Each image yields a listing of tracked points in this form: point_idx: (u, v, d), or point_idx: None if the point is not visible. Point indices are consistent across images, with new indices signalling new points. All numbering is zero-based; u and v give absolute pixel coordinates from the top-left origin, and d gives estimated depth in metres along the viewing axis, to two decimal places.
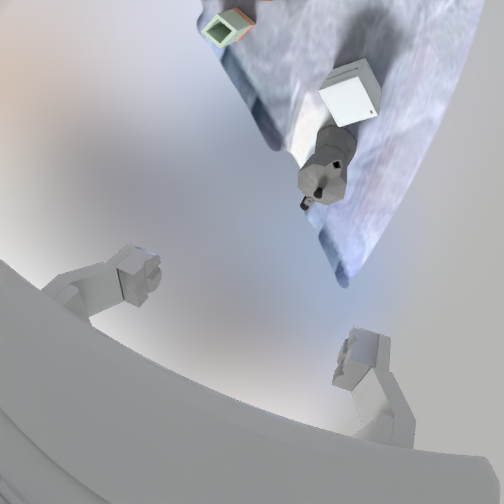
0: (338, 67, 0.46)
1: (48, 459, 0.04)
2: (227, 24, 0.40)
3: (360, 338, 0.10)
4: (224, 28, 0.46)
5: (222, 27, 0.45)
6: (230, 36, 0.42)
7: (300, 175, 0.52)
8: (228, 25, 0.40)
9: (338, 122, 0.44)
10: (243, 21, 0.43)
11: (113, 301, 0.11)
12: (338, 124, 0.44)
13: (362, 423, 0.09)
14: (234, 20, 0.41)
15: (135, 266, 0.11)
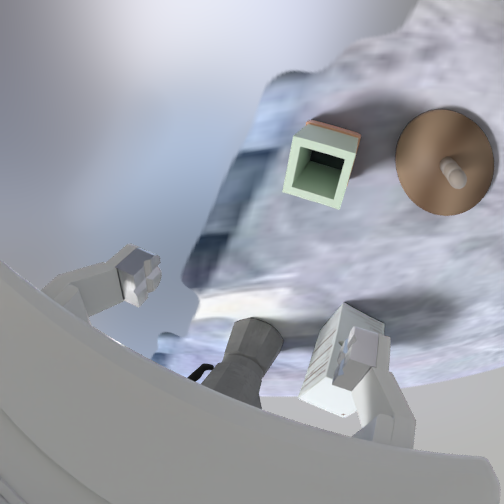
0: (352, 309, 0.39)
1: (48, 459, 0.04)
2: (342, 185, 0.23)
3: (360, 338, 0.10)
4: None
5: None
6: (319, 200, 0.24)
7: None
8: (341, 188, 0.23)
9: (303, 397, 0.34)
10: None
11: (113, 301, 0.11)
12: (300, 398, 0.34)
13: (362, 423, 0.09)
14: None
15: (135, 266, 0.11)
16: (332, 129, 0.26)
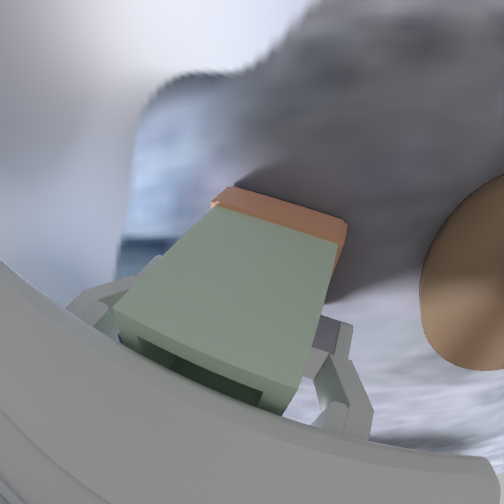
0: None
1: (48, 459, 0.04)
2: None
3: (320, 325, 0.10)
4: None
5: None
6: None
7: None
8: None
9: None
10: None
11: None
12: None
13: None
14: None
15: None
16: (272, 221, 0.11)
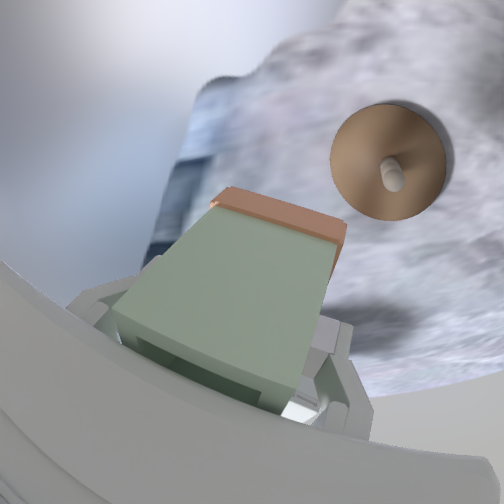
0: None
1: (48, 459, 0.04)
2: None
3: (320, 325, 0.10)
4: None
5: None
6: None
7: None
8: None
9: None
10: None
11: None
12: None
13: None
14: None
15: None
16: (271, 221, 0.11)
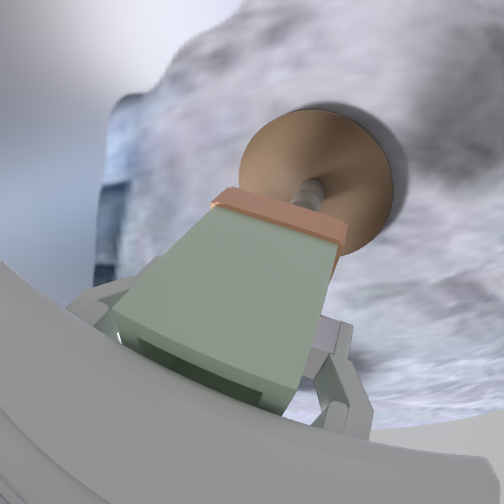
0: None
1: (48, 459, 0.04)
2: None
3: (320, 325, 0.10)
4: None
5: None
6: None
7: None
8: None
9: None
10: None
11: None
12: None
13: None
14: None
15: None
16: (272, 221, 0.11)
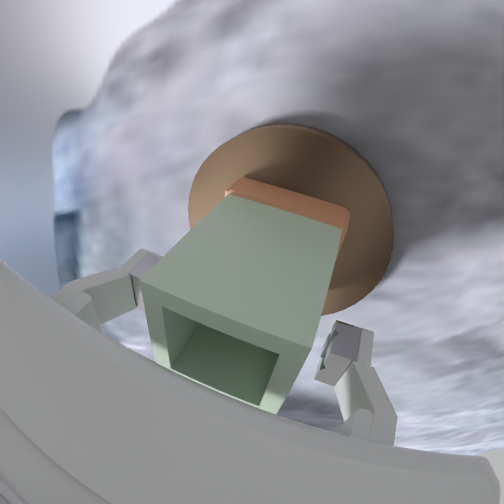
0: None
1: (48, 459, 0.04)
2: (277, 393, 0.09)
3: (342, 332, 0.10)
4: None
5: None
6: None
7: None
8: (275, 396, 0.09)
9: None
10: None
11: (125, 308, 0.11)
12: None
13: (344, 418, 0.09)
14: None
15: None
16: (282, 208, 0.12)
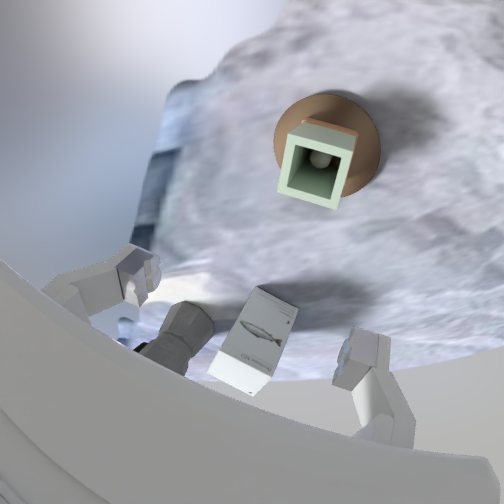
0: (263, 293, 0.43)
1: (48, 459, 0.04)
2: (339, 184, 0.22)
3: (360, 338, 0.10)
4: None
5: None
6: (315, 201, 0.24)
7: None
8: (338, 187, 0.22)
9: (210, 372, 0.38)
10: None
11: (113, 301, 0.11)
12: (209, 372, 0.38)
13: (362, 423, 0.09)
14: None
15: (135, 266, 0.11)
16: (329, 127, 0.26)
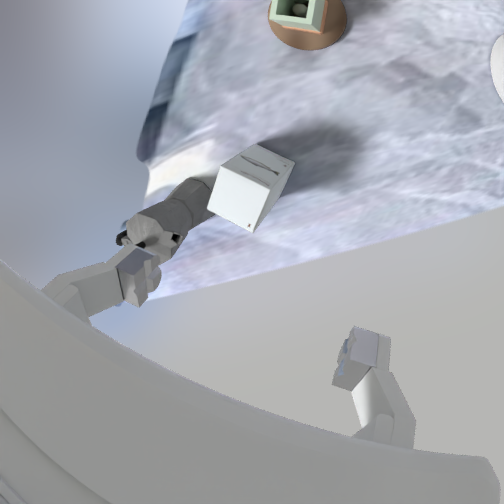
0: (262, 148, 0.46)
1: (48, 459, 0.04)
2: (311, 8, 0.25)
3: (360, 338, 0.10)
4: (290, 5, 0.29)
5: (290, 2, 0.29)
6: (296, 20, 0.26)
7: (136, 217, 0.43)
8: (310, 10, 0.25)
9: (210, 205, 0.41)
10: (319, 21, 0.29)
11: (113, 301, 0.11)
12: (209, 207, 0.41)
13: (362, 423, 0.09)
14: (317, 11, 0.27)
15: (135, 266, 0.11)
16: None
